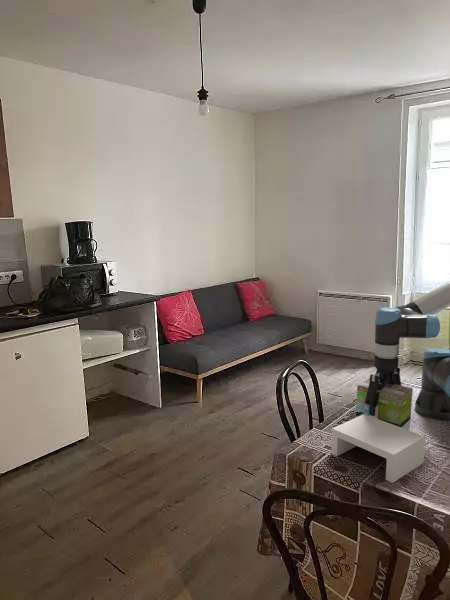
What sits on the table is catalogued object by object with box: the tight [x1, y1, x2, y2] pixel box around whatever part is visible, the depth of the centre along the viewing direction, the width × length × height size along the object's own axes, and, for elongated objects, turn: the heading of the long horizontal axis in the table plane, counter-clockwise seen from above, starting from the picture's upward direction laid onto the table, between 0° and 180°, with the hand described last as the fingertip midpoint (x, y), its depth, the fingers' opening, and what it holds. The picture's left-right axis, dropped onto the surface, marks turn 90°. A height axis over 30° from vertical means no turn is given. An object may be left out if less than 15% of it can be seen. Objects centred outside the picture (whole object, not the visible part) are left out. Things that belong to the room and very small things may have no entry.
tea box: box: [355, 377, 414, 431], centre depth 149 cm, size 15×10×15 cm, turn 48°
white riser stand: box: [330, 414, 426, 484], centre depth 130 cm, size 16×20×8 cm
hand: (382, 419), depth 150 cm, fingers closed on tea box, 11 cm apart
